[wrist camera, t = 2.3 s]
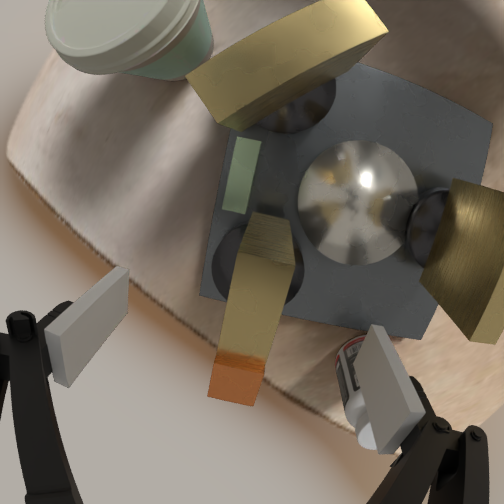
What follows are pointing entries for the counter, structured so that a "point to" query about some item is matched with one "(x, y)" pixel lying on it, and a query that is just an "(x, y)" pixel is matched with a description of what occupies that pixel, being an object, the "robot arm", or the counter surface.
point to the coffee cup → (131, 36)
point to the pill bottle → (354, 392)
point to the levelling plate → (353, 196)
